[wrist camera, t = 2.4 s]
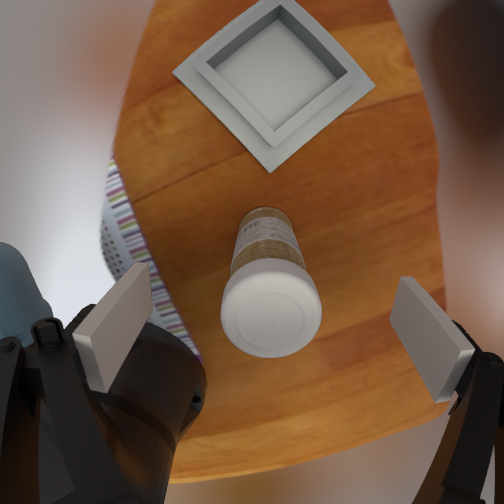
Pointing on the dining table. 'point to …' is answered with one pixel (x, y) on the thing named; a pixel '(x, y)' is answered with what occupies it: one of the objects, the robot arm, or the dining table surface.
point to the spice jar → (269, 289)
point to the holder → (274, 79)
